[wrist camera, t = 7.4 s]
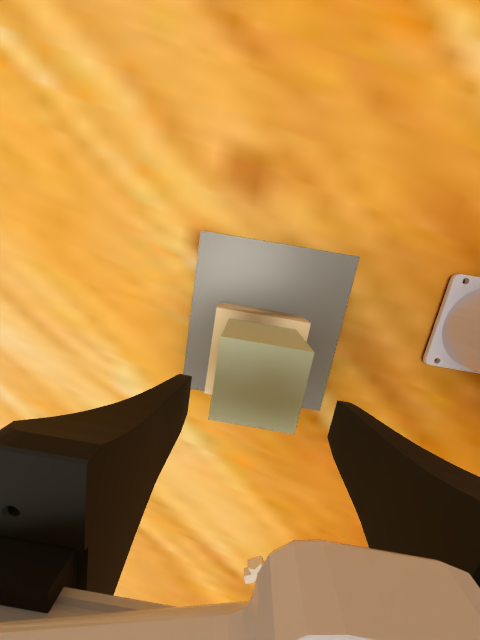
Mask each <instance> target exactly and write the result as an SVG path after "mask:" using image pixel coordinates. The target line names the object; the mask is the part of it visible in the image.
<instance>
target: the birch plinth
mask: <svg viewBox="0 0 480 640" xmlns="http://www.w3.org/2000/svg"><path fill="white" fill-rule="evenodd" d="M229 318H232V319H238V320H243V321H249V322H255V323H261V324H267V325H273V326H279V327H285V328H290V329H296V330H297V331H298V332H299V334H300V335H301V336H302V337H303V339H304V340H305V341H306V342H307V338H308V334H309V330H310V325H311V323H310V322H309V321H308V320H307V319H305V318H304V317H303V316H301V315H295V314H289V313H283V312H277V311H271V310H265V309H259V308H253V307H247V306H241V305H235V304H229V303H223V302H221V303H220V304H219V305H218V306H217V307H216V314H215V321H214V328H213V335H212V342H211V349H210V356H209V363H208V370H207V377H206V384H205V391H204V393H205V394H210V395H212V392H213V385H214V379H215V372H216V366H217V359H218V353H219V346H220V340H221V335H222V333H223V331H224V329H225V326H226V324H227V322H228V320H229Z"/></svg>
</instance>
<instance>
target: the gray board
mask: <svg viewBox="0 0 480 640" xmlns="http://www.w3.org/2000/svg"><path fill="white" fill-rule="evenodd" d="M358 261H359V257H358V256H352V255H346V254H340V253H334V252H328V251H322V250H316V249H310V248H304V247H298V246H291V245H285V244H279V243H273V242H267V241H261V240H255V239H249V238H243V237H237V236H231V235H225V234H219V233H213V232H207V231H201V233H200V241H199V250H198V258H197V266H196V274H195V283H194V291H193V299H192V307H191V316H190V324H189V332H188V340H187V349H186V357H185V365H184V374H183V375H189V376H192V380H191V388H190V389H196V390H202V391H205V384H206V377H207V370H208V363H209V356H210V349H211V342H212V335H213V328H214V321H215V314H216V307H217V306H218V305H219V304H220V303H221V302H223V303H229V304H235V305H241V306H247V307H253V308H259V309H265V310H271V311H277V312H283V313H289V314H295V315H301V316H303V317H304V318H305V319H307V320H308V321H309V322H310V323H311V325H310V330H309V334H308V338H307V344H308V345H309V346H310V347H311V349H312V350H313V351H314V352H315V353H314V357H313V361H312V365H311V369H310V373H309V377H308V381H307V385H306V389H305V394H304V398H303V402H302V406H301V407H302V408H307V409H313V410H319V411H320V407H321V403H322V399H323V395H324V391H325V388H326V384H327V380H328V376H329V372H330V368H331V365H332V361H333V357H334V353H335V349H336V345H337V342H338V338H339V334H340V330H341V326H342V322H343V319H344V315H345V311H346V307H347V303H348V299H349V295H350V292H351V288H352V284H353V280H354V276H355V272H356V269H357V265H358Z"/></svg>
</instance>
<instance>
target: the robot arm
mask: <svg viewBox="0 0 480 640" xmlns="http://www.w3.org/2000/svg"><path fill="white" fill-rule="evenodd" d="M464 279H465V282H464V283H463V280H464ZM436 358H437V360H436V361H435V362H434V360H435V359H436ZM423 362H424V363H426V364H428V365H432V366H438V367H444V368H450V369H456V370H462V371H468V372H473V373H479V374H480V277H476V276H470V275H464V274H455V275H453V276H452V277H451V279H450V281H449V284H448V287H447V290H446V293H445V296H444V299H443V302H442V304H441V307H440V310H439V313H438V316H437V319H436V322H435V325H434V328H433V331H432V333H431V336H430V339H429V342H428V345H427V348H426V351H425V354H424V357H423ZM191 380H192V376H189V375H183V374H179V375H176V376H175V377H173V378H171V379H169V380H167V381H165V382H163V383H161V384H159V385H158V386H156V387H154V388H152V389H149V390H147V391H145V392H143V393H141V394H138V395H136V396H134V397H131V398H129V399H126V400H123V401H120V402H117V403H114V404H111V405H107V406H103V407H99V408H96V409H92V410H88V411H83V412H78V413H73V414H67V415H61V416H55V417H47V418H38V419H29V420H19V421H13V422H12V423H10V424H9V425H7V426H5V427H4V428H2V429H1V430H0V640H480V477H478V476H476V475H474V474H472V473H470V472H468V471H465V470H463V469H461V468H459V467H457V466H455V465H453V464H451V463H449V462H447V461H445V460H443V459H441V458H440V457H438V456H436V455H434V454H432V453H430V452H429V451H427V450H425V449H423V448H421V447H420V446H418V445H416V444H415V443H413V442H411V441H410V440H408V439H407V438H405V437H403V436H402V435H400V434H399V433H397V432H395V431H394V430H392V429H391V428H389V427H388V426H386V425H385V424H383V423H382V422H380V421H379V420H377V419H376V418H374V417H373V416H371V415H370V414H368V413H367V412H365V411H364V410H362V409H361V408H359V407H357V406H355V405H354V404H352V403H349V402H343V401H337V404H336V408H335V412H334V415H333V419H332V422H331V426H330V430H329V433H328V441H329V444H330V448H331V451H332V455H333V458H334V460H335V463H336V465H337V467H338V470H339V472H340V475H341V477H342V479H343V481H344V484H345V486H346V488H347V490H348V493H349V495H350V497H351V500H352V502H353V504H354V506H355V509H356V511H357V514H358V516H359V519H360V521H361V524H362V527H363V530H364V533H365V536H366V539H367V542H368V545H369V548H365V547H359V546H354V545H348V544H342V543H336V542H331V541H325V540H294V541H292V542H290V543H288V544H286V545H284V546H282V547H280V548H278V549H276V550H274V551H272V552H271V553H270V554H269V556H268V557H267V559H266V561H265V562H264V564H263V565H262V567H261V568H260V570H259V572H258V573H257V578H256V582H255V586H254V590H253V595H252V597H251V600H250V601H245V602H233V603H221V604H209V605H197V606H185V607H175V606H169V605H163V604H158V603H152V602H146V601H141V600H135V599H130V598H124V597H118V596H113V595H114V592H115V589H116V586H117V584H118V581H119V578H120V575H121V572H122V570H123V567H124V564H125V561H126V559H127V556H128V553H129V551H130V548H131V545H132V542H133V540H134V537H135V534H136V532H137V529H138V526H139V524H140V521H141V518H142V516H143V513H144V510H145V508H146V505H147V503H148V500H149V498H150V495H151V493H152V490H153V488H154V485H155V483H156V481H157V478H158V476H159V474H160V472H161V470H162V468H163V466H164V464H165V462H166V460H167V458H168V456H169V454H170V452H171V450H172V448H173V446H174V444H175V442H176V440H177V438H178V436H179V434H180V432H181V430H182V427H183V424H184V421H185V418H186V416H187V412H188V404H189V396H190V388H191Z"/></svg>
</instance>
